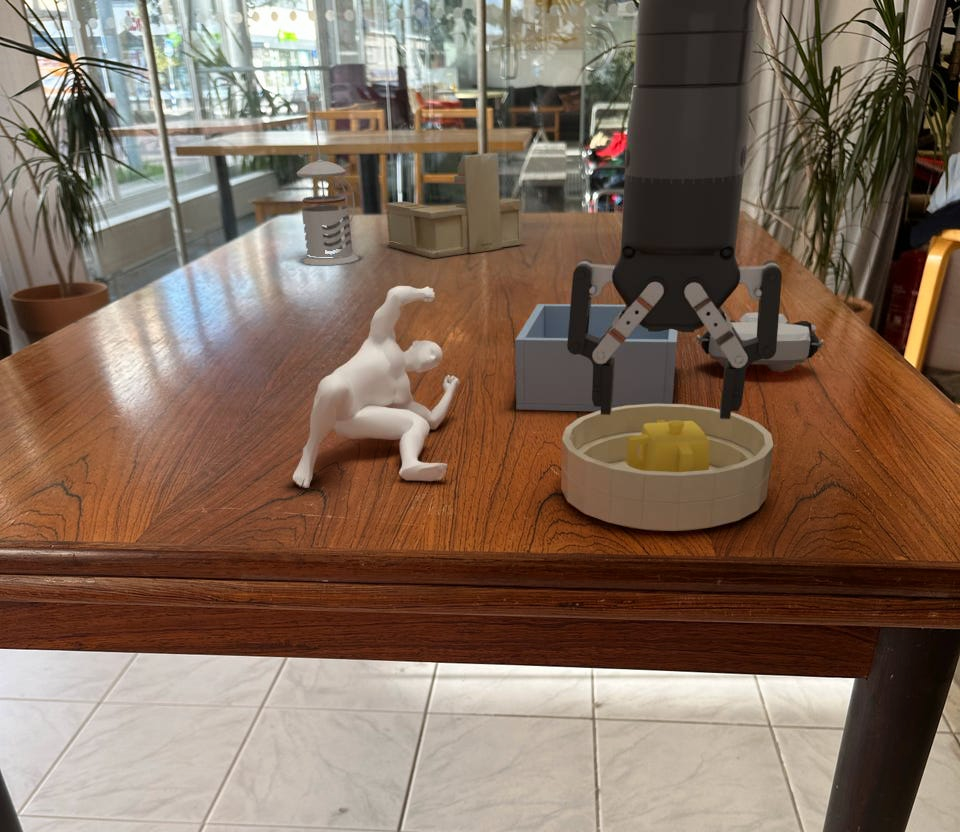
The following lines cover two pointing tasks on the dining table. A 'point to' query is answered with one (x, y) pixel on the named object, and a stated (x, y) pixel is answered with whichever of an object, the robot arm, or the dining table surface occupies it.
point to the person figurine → (381, 394)
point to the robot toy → (791, 342)
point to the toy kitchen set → (460, 216)
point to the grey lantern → (326, 215)
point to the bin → (589, 363)
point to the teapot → (669, 447)
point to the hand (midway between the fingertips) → (664, 413)
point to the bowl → (665, 495)
